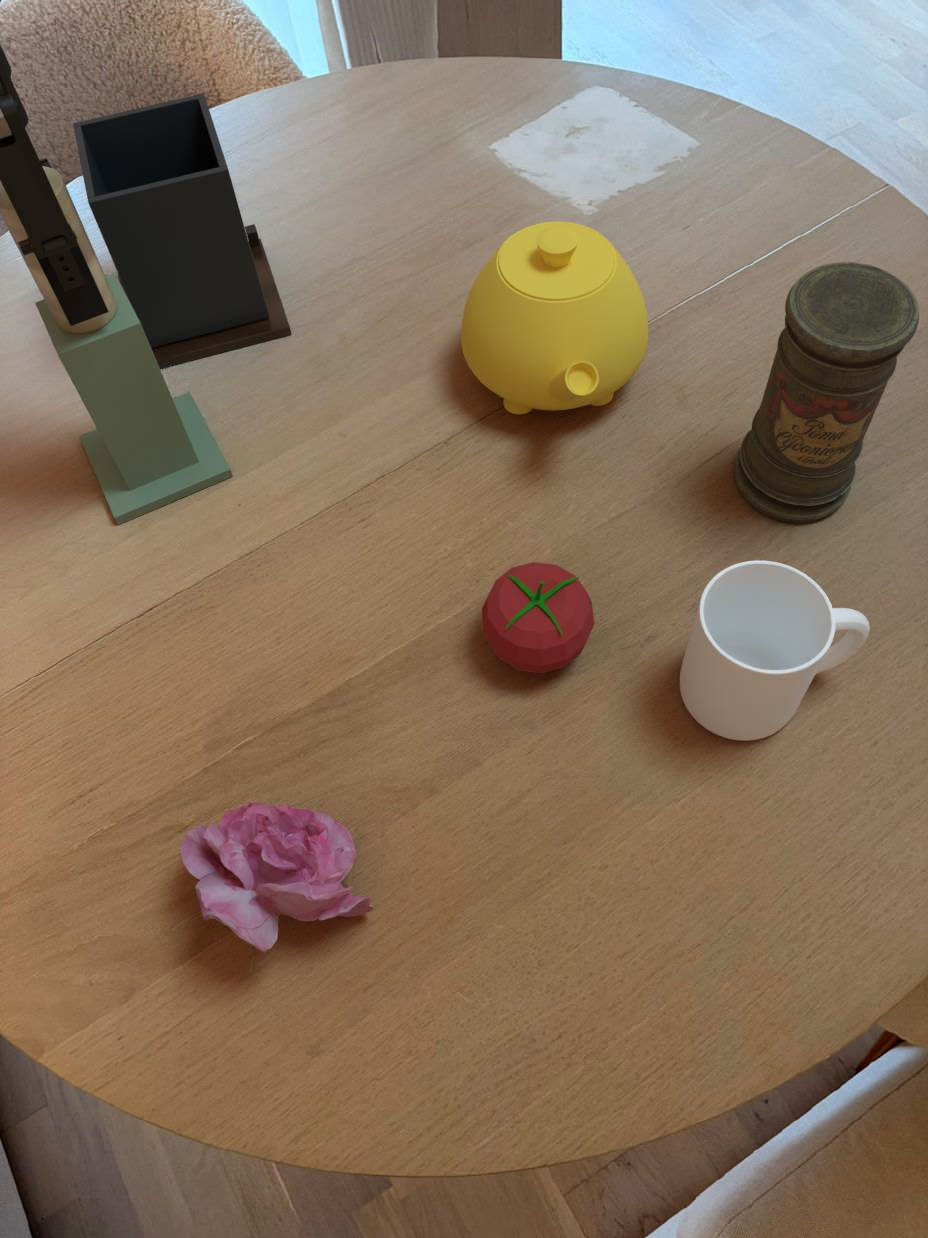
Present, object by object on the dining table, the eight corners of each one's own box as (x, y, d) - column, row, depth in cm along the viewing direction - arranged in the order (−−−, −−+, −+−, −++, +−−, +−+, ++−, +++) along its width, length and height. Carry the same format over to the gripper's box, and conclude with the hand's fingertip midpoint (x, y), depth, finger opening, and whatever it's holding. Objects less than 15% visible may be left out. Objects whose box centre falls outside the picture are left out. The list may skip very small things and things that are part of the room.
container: (727, 437, 83) (773, 257, 68) (838, 436, 83) (910, 254, 67) (739, 525, 79) (792, 353, 63) (857, 524, 78) (939, 351, 63)
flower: (284, 821, 71) (345, 744, 65) (344, 950, 67) (415, 881, 61) (131, 861, 64) (184, 778, 58) (188, 1010, 60) (251, 937, 54)
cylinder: (47, 304, 72) (-16, 179, 64) (106, 282, 73) (51, 156, 64) (65, 342, 70) (1, 218, 61) (125, 319, 71) (71, 194, 62)
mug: (825, 624, 74) (866, 541, 65) (866, 725, 69) (916, 652, 61) (664, 649, 73) (683, 570, 65) (695, 753, 69) (720, 683, 60)
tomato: (611, 660, 73) (620, 604, 67) (517, 708, 72) (516, 655, 65) (554, 579, 77) (557, 519, 70) (464, 623, 75) (459, 565, 69)
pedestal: (83, 443, 87) (0, 295, 73) (192, 399, 89) (132, 247, 75) (118, 525, 82) (37, 383, 68) (233, 476, 84) (176, 329, 70)
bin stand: (291, 334, 92) (286, 312, 90) (140, 374, 91) (130, 352, 88) (262, 245, 99) (256, 222, 97) (120, 281, 97) (111, 258, 95)
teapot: (669, 467, 82) (694, 339, 70) (479, 488, 82) (471, 364, 70) (624, 298, 92) (639, 163, 81) (455, 317, 92) (445, 183, 80)
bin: (269, 317, 92) (228, 168, 79) (149, 348, 90) (88, 202, 78) (245, 242, 97) (203, 92, 84) (132, 270, 96) (72, 122, 83)
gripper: (19, -24, 47) (169, 351, 67) (-63, -166, 55) (93, 205, 75) (-144, 25, 45) (60, 394, 65) (-203, -129, 54) (-6, 240, 74)
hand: (77, 292), depth 70 cm, fingers closed on cylinder, 4 cm apart
